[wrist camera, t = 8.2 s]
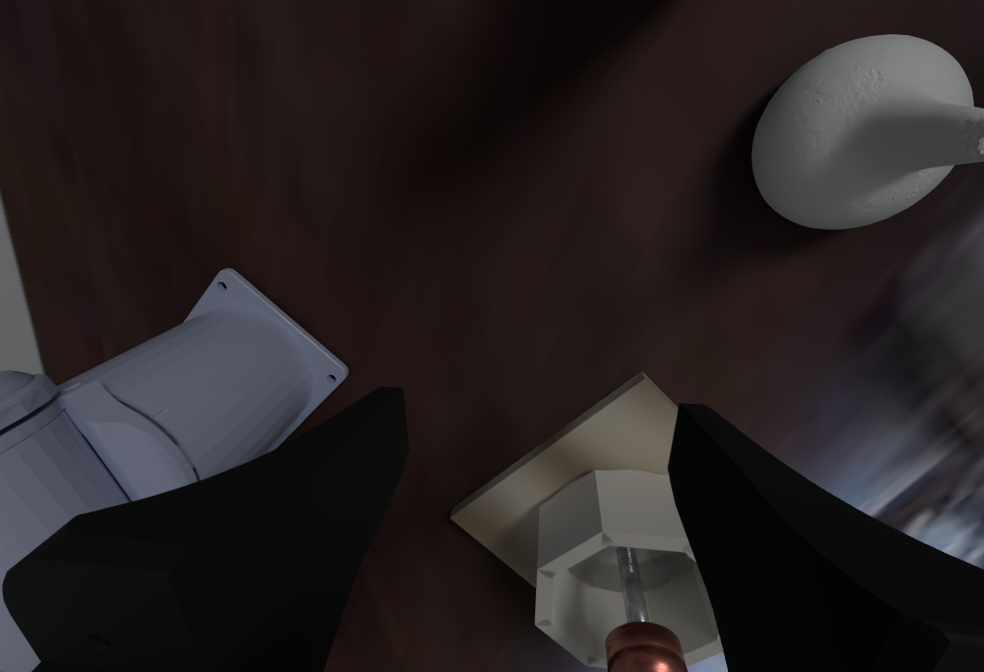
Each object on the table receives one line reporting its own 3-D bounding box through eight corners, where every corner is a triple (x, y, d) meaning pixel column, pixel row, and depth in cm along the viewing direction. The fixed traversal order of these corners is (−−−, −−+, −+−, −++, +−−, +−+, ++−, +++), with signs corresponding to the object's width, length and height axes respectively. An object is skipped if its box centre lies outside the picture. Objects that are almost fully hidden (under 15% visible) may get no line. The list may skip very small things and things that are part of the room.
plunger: (616, 598, 27) (637, 759, 20) (541, 534, 25) (537, 682, 19) (710, 549, 24) (772, 713, 17) (633, 477, 23) (668, 622, 16)
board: (605, 634, 30) (606, 646, 29) (452, 507, 27) (449, 518, 27) (804, 538, 25) (811, 550, 24) (641, 370, 22) (644, 378, 22)
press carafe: (611, 612, 28) (621, 693, 24) (504, 522, 26) (496, 593, 22) (747, 544, 25) (786, 624, 21) (636, 435, 23) (655, 500, 19)
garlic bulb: (951, 103, 17) (1286, 42, 9) (834, 252, 19) (1031, 299, 11) (811, 18, 16) (1044, -118, 9) (706, 180, 19) (825, 180, 11)
